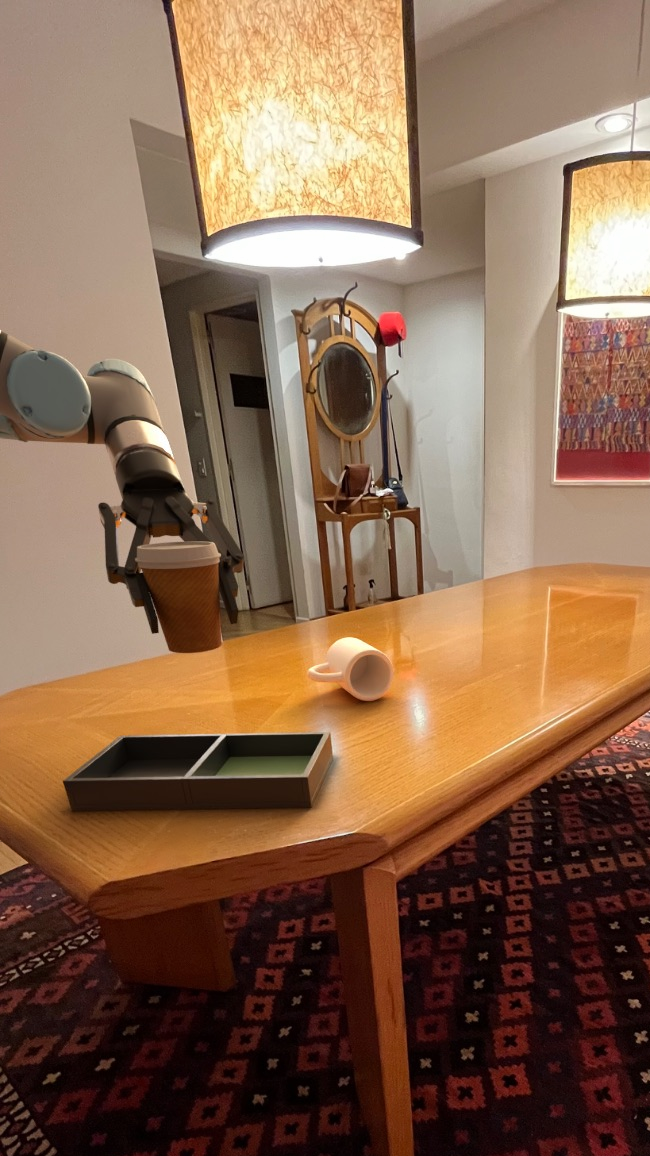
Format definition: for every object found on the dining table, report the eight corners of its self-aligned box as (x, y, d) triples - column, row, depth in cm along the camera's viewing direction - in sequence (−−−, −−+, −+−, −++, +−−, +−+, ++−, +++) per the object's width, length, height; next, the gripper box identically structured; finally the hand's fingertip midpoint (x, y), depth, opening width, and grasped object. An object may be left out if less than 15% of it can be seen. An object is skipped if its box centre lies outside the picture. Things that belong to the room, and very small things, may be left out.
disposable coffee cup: (248, 639, 87) (233, 541, 82) (209, 658, 79) (190, 549, 73) (182, 637, 89) (164, 540, 84) (138, 655, 81) (114, 549, 75)
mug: (372, 681, 114) (369, 634, 110) (396, 696, 106) (392, 646, 102) (303, 692, 109) (297, 643, 106) (322, 709, 101) (316, 657, 98)
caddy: (71, 811, 73) (62, 780, 71) (127, 762, 85) (120, 735, 83) (311, 807, 72) (307, 777, 70) (333, 758, 84) (330, 731, 82)
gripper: (229, 491, 93) (279, 629, 87) (57, 498, 84) (101, 652, 78) (232, 446, 86) (286, 592, 81) (46, 448, 77) (93, 612, 72)
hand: (195, 621), depth 80 cm, fingers closed on disposable coffee cup, 8 cm apart
